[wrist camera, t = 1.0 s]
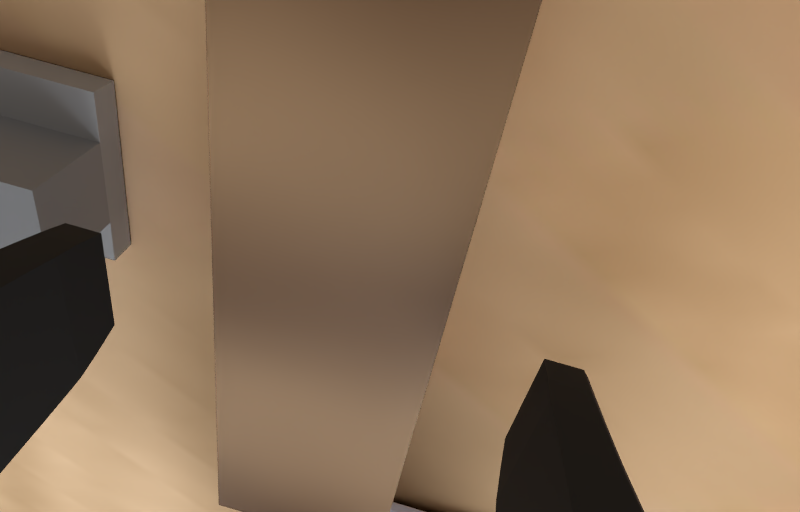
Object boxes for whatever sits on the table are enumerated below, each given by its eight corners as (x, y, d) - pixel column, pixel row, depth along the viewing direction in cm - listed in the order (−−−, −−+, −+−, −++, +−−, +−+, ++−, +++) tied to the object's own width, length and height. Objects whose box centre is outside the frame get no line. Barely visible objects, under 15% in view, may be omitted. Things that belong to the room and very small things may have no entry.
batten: (418, 381, 19) (378, 551, 14) (295, 347, 19) (219, 504, 15) (570, -157, 10) (584, -140, 6) (345, -205, 11) (199, -224, 6)
